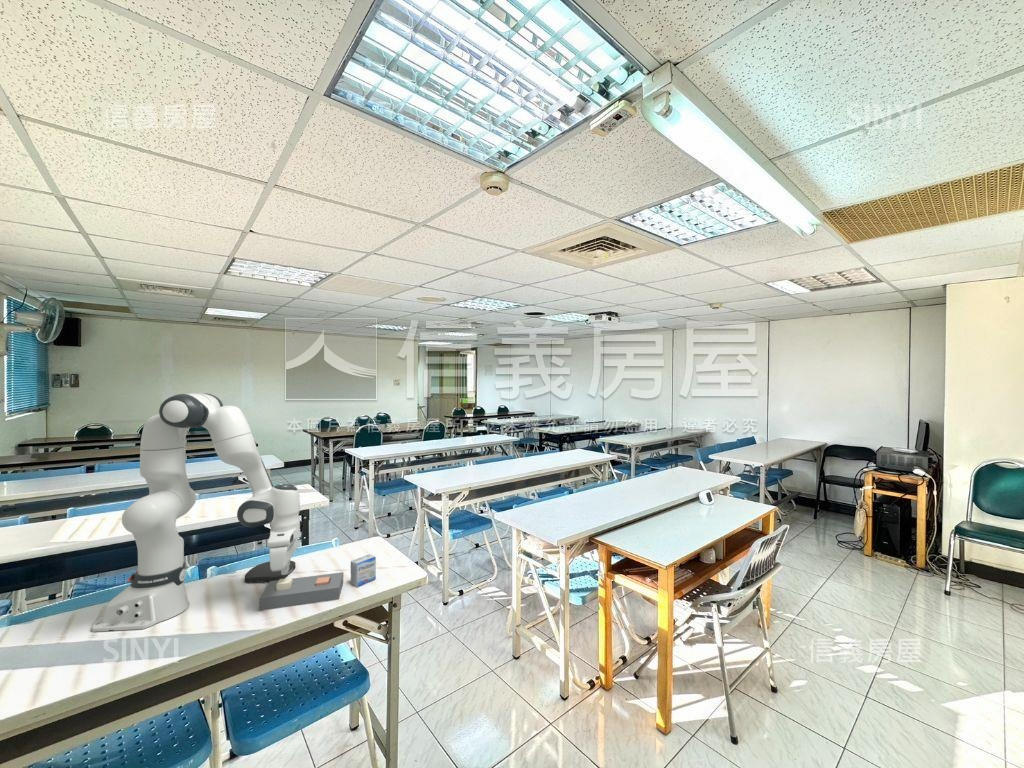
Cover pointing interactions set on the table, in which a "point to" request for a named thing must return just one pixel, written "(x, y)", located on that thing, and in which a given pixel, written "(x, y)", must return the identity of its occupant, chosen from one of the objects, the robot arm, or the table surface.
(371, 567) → the medicine box
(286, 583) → the sand key
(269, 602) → the key panel
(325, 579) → the terracotta key
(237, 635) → the table surface
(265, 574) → the media streaming box
